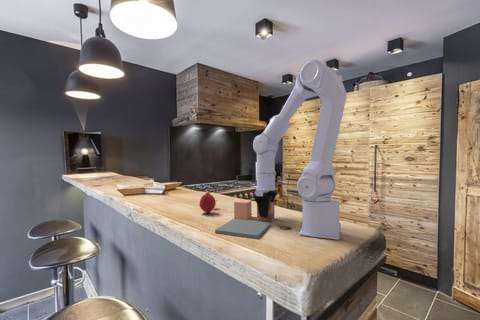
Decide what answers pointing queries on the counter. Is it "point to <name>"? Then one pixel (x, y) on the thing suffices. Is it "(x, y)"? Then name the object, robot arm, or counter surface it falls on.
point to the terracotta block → (242, 209)
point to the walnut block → (270, 214)
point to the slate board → (244, 228)
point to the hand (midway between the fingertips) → (265, 215)
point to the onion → (207, 202)
